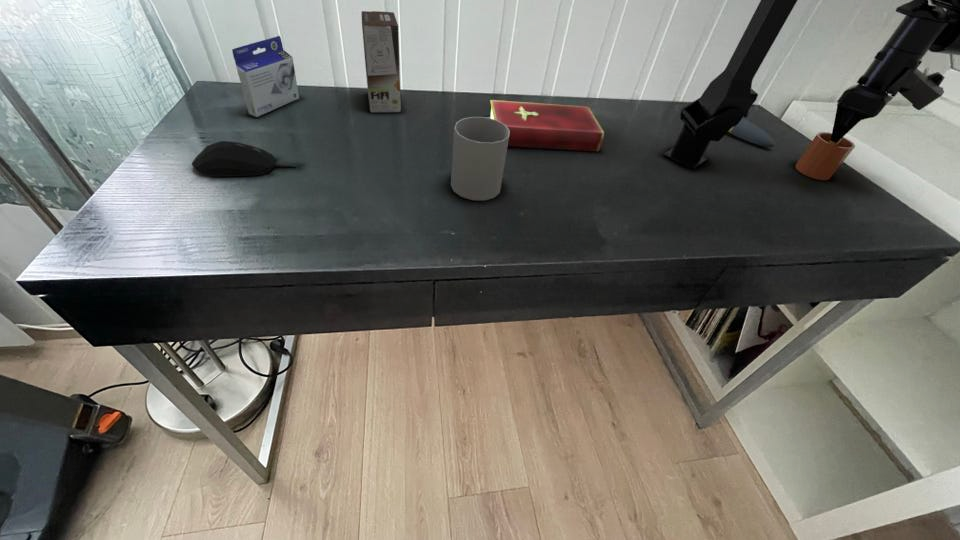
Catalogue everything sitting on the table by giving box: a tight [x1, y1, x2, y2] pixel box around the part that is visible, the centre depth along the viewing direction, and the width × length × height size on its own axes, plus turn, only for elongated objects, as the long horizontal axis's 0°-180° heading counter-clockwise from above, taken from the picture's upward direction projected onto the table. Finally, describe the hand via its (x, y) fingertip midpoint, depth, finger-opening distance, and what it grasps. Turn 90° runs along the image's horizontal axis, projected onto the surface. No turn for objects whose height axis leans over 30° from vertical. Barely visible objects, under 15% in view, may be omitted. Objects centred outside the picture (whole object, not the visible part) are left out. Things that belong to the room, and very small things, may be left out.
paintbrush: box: [705, 118, 776, 148], centre depth 95 cm, size 20×5×5 cm, turn 48°
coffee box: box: [361, 10, 402, 113], centre depth 83 cm, size 9×6×16 cm
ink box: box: [231, 35, 300, 118], centre depth 78 cm, size 12×2×12 cm, turn 155°
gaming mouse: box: [191, 140, 297, 177], centre depth 66 cm, size 6×15×4 cm, turn 99°
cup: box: [450, 116, 510, 201], centre depth 66 cm, size 8×8×10 cm
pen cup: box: [794, 131, 856, 181], centre depth 84 cm, size 7×7×7 cm
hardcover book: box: [487, 99, 605, 152], centre depth 84 cm, size 12×21×4 cm, turn 95°
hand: (839, 135), depth 81 cm, fingers open, 9 cm apart
